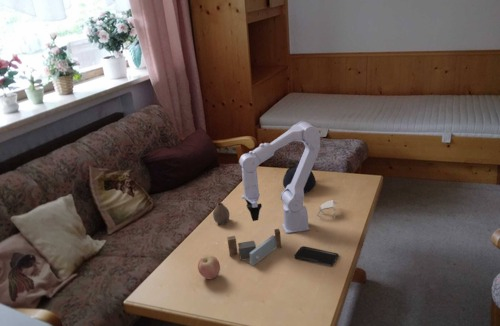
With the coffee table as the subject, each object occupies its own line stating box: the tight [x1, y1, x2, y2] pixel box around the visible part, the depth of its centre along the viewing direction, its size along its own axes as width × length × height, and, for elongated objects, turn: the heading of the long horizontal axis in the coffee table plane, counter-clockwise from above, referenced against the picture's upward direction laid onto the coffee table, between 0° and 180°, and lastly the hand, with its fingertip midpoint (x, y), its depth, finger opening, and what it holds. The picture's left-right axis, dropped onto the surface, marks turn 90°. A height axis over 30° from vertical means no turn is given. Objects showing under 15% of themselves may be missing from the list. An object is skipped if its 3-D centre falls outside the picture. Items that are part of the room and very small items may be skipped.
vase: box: [212, 202, 230, 225], centre depth 196 cm, size 7×7×9 cm
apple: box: [197, 254, 221, 280], centre depth 161 cm, size 8×8×8 cm
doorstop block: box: [237, 240, 257, 261], centre depth 171 cm, size 6×4×5 cm, turn 99°
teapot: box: [282, 164, 317, 194], centre depth 220 cm, size 25×16×12 cm, turn 157°
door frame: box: [226, 228, 282, 257], centre depth 174 cm, size 20×2×7 cm, turn 99°
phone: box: [293, 245, 340, 268], centre depth 167 cm, size 8×1×15 cm
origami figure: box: [316, 199, 338, 220], centre depth 195 cm, size 12×8×5 cm
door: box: [249, 234, 277, 266], centre depth 170 cm, size 14×2×5 cm, turn 141°
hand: (253, 215), depth 181 cm, fingers open, 7 cm apart
